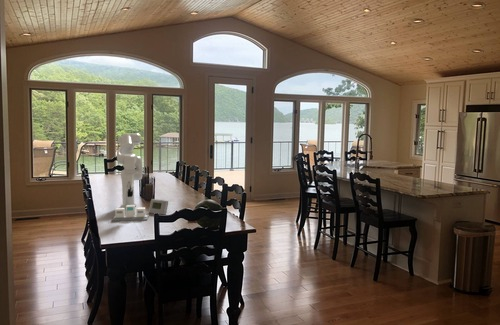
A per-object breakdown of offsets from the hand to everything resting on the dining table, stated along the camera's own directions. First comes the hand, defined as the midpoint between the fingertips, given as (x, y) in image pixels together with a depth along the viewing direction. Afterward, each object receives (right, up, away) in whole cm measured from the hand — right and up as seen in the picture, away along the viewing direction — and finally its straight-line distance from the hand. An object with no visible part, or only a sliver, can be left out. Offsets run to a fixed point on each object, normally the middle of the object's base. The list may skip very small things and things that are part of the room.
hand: (130, 195), depth 298 cm
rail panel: (0, -17, +2) cm, 17 cm away
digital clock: (+17, -16, +19) cm, 30 cm away
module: (0, -15, +2) cm, 15 cm away
